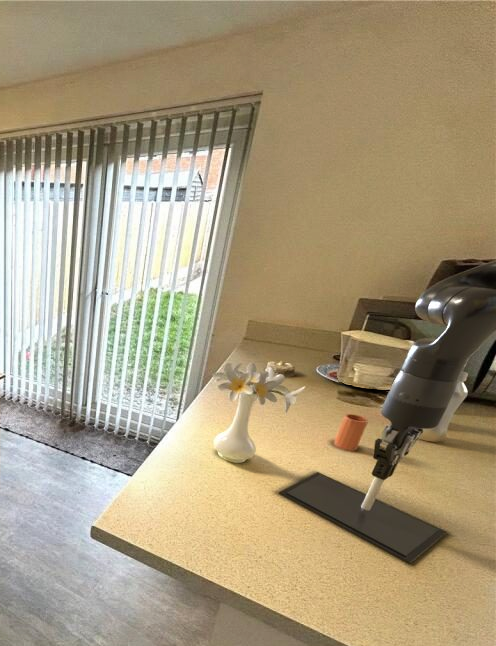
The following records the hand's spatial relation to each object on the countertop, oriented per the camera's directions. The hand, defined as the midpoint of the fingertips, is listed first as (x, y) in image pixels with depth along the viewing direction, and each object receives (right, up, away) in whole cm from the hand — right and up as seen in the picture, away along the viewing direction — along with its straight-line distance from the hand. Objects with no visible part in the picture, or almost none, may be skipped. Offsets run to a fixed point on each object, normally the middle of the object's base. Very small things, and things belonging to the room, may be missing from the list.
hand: (381, 475), depth 77 cm
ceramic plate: (+61, +19, +68) cm, 93 cm away
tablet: (0, -9, +5) cm, 11 cm away
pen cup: (+19, +1, +28) cm, 34 cm away
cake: (+38, +22, +77) cm, 88 cm away
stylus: (0, -8, +4) cm, 9 cm away
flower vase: (-13, -1, +25) cm, 28 cm away
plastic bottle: (+44, +3, +31) cm, 54 cm away
